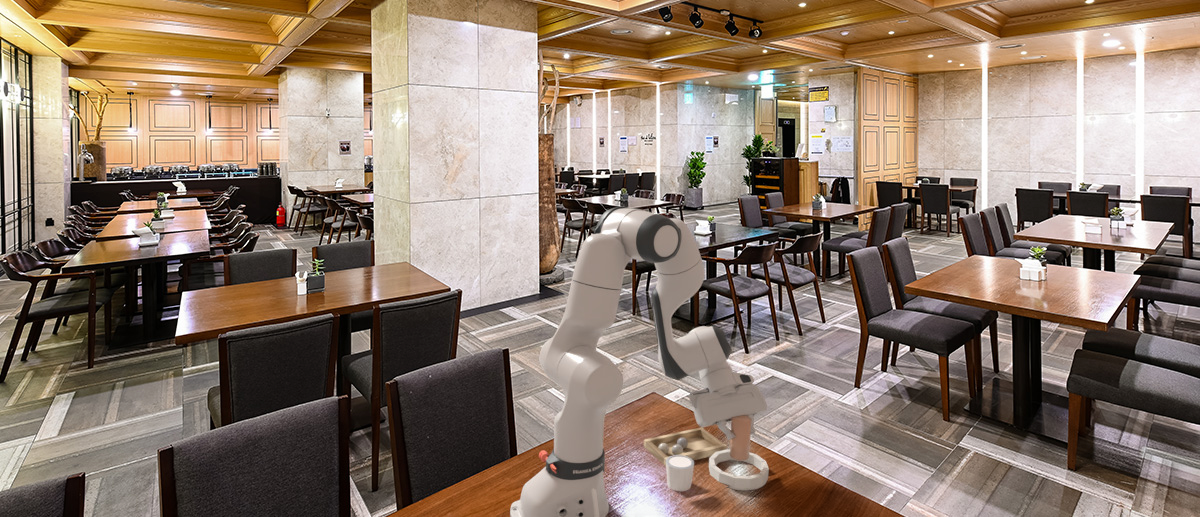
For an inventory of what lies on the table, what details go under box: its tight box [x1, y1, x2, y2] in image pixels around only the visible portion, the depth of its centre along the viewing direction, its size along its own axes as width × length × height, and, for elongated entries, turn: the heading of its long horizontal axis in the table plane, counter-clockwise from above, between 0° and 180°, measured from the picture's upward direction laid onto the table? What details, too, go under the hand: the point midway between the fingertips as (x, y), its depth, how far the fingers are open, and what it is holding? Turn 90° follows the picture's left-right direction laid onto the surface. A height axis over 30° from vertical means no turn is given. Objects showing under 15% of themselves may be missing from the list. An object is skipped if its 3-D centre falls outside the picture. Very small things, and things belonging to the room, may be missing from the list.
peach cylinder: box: [729, 415, 751, 461], centre depth 155 cm, size 5×5×10 cm
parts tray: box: [643, 426, 728, 467], centre depth 167 cm, size 19×12×3 cm, turn 115°
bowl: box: [708, 448, 770, 492], centre depth 156 cm, size 14×14×3 cm
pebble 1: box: [658, 443, 669, 454], centre depth 164 cm, size 3×3×3 cm
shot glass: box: [665, 455, 695, 492], centre depth 149 cm, size 7×7×7 cm
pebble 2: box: [677, 438, 688, 449], centre depth 168 cm, size 3×3×3 cm
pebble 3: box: [672, 444, 683, 455], centre depth 164 cm, size 3×3×3 cm
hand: (742, 436), depth 154 cm, fingers closed on peach cylinder, 5 cm apart
